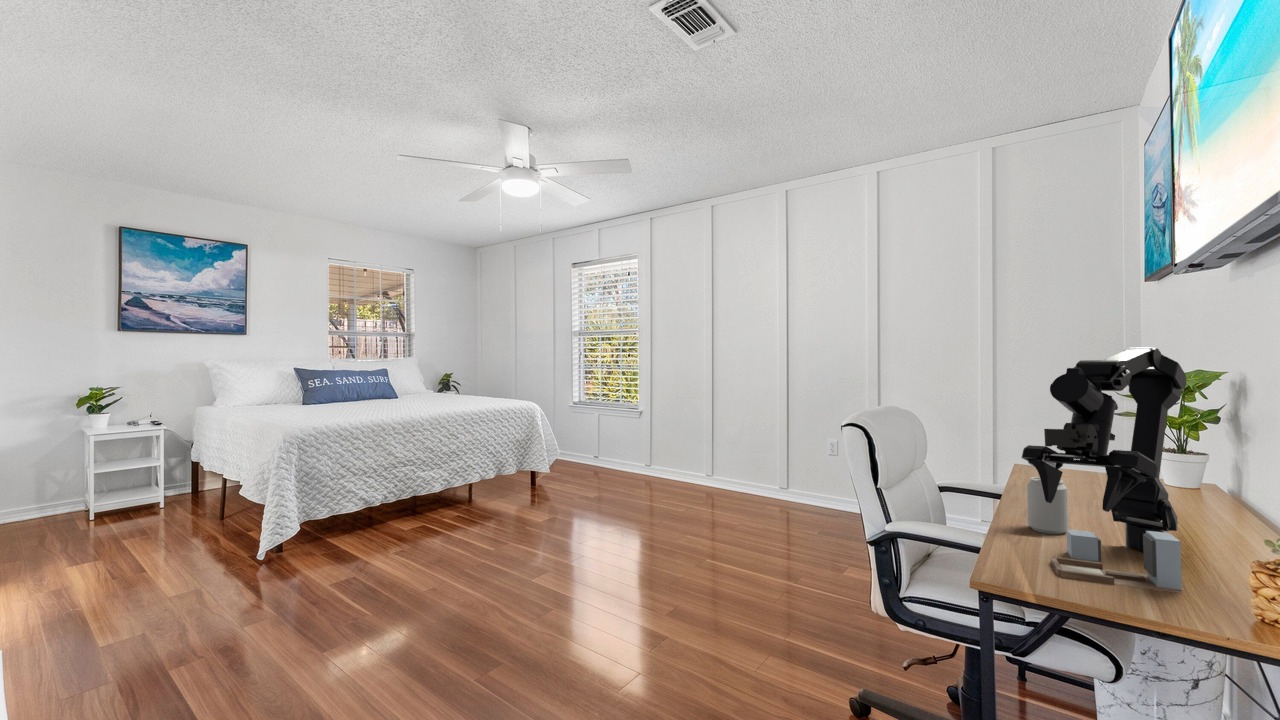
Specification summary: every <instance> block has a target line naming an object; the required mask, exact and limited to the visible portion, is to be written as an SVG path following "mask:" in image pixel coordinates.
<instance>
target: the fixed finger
mask: <svg viewBox="0 0 1280 720" xmlns="http://www.w3.org/2000/svg"><path fill="white" fill-rule="evenodd" d="M1142 555H1143V569H1144V571H1146V574H1147V577H1148V578H1149V579H1150V580H1151V581H1152V582H1153V583H1154V584H1155V585H1156V586H1157V587H1161V588H1169V589H1176V590H1179V591H1183V585H1182V583H1183V582H1182V580H1183V579H1182V578H1183V577H1182V576H1183V575H1182V545H1181V540H1179V539H1178V538H1177V537H1175V536H1174V535H1172V534H1171V533H1170V532H1166V531H1164V532H1155V531H1146V534H1143V553H1142Z"/></svg>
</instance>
